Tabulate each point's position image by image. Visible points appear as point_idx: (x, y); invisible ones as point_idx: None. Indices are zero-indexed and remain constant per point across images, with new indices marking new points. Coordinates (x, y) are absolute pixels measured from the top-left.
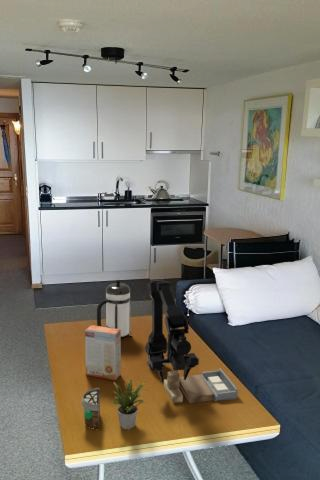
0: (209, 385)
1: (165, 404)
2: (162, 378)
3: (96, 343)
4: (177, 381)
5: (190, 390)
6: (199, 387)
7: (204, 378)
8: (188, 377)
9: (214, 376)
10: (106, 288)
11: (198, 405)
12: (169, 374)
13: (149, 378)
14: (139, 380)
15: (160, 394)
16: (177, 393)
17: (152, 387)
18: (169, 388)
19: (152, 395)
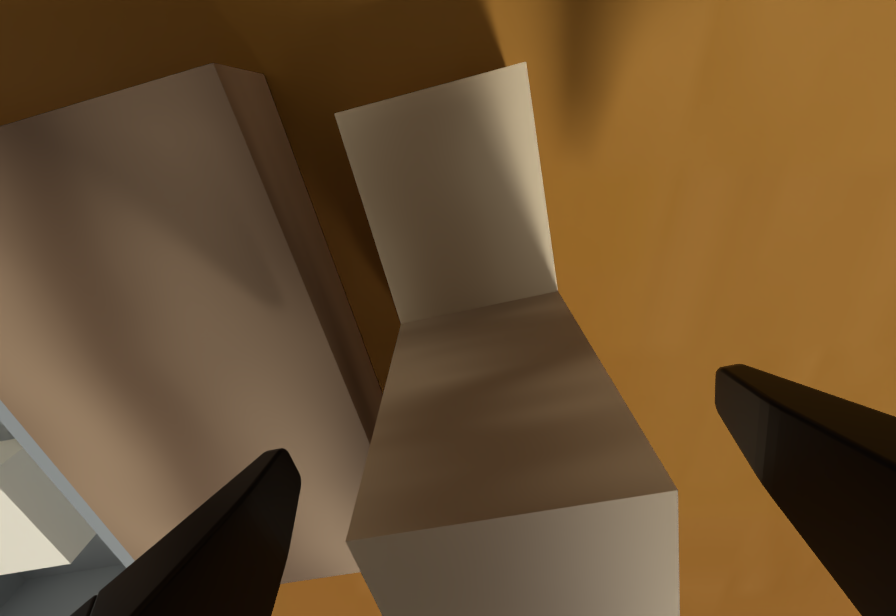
0: (11, 425)
1: (622, 26)
2: (837, 415)
3: None
4: (419, 391)
5: (224, 287)
6: (108, 365)
7: (115, 546)
8: (288, 557)
9: (2, 573)
10: None
11: (113, 4)
12: (663, 542)
13: (684, 559)
14: (793, 532)
15: (639, 294)
16: (430, 174)
17: (697, 427)
18: (559, 299)
19: (747, 270)
